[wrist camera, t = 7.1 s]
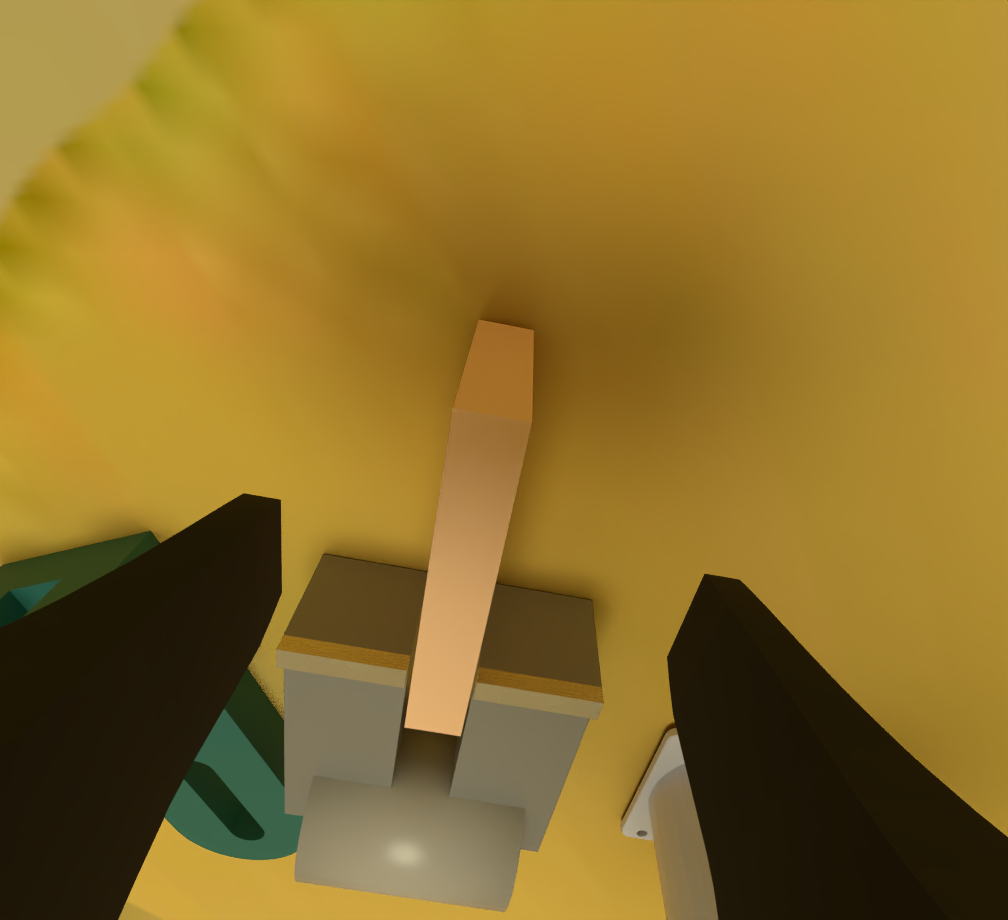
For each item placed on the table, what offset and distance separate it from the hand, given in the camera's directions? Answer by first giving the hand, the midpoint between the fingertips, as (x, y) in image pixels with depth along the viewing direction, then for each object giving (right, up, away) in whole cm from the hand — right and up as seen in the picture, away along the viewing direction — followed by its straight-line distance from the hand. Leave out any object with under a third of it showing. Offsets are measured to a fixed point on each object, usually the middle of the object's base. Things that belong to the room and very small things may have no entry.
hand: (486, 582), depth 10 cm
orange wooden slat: (-1, +2, +9) cm, 9 cm away
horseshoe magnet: (-2, -7, +15) cm, 17 cm away
